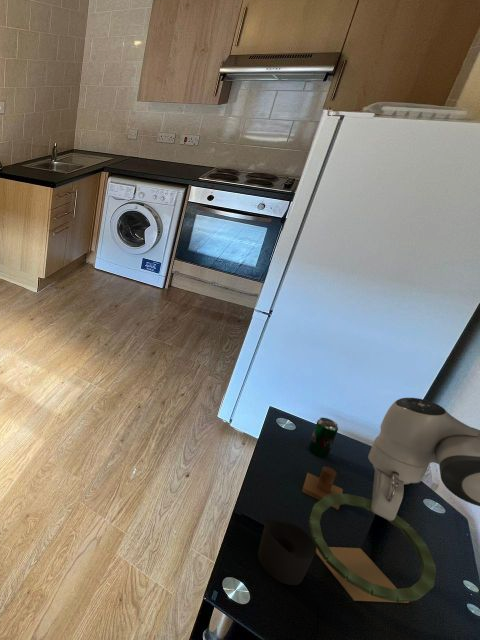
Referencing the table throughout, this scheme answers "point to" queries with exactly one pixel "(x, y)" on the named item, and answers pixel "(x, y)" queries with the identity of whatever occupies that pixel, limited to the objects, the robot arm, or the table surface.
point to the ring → (379, 591)
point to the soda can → (323, 437)
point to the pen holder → (285, 551)
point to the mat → (358, 572)
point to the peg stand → (322, 485)
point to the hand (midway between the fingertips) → (376, 507)
